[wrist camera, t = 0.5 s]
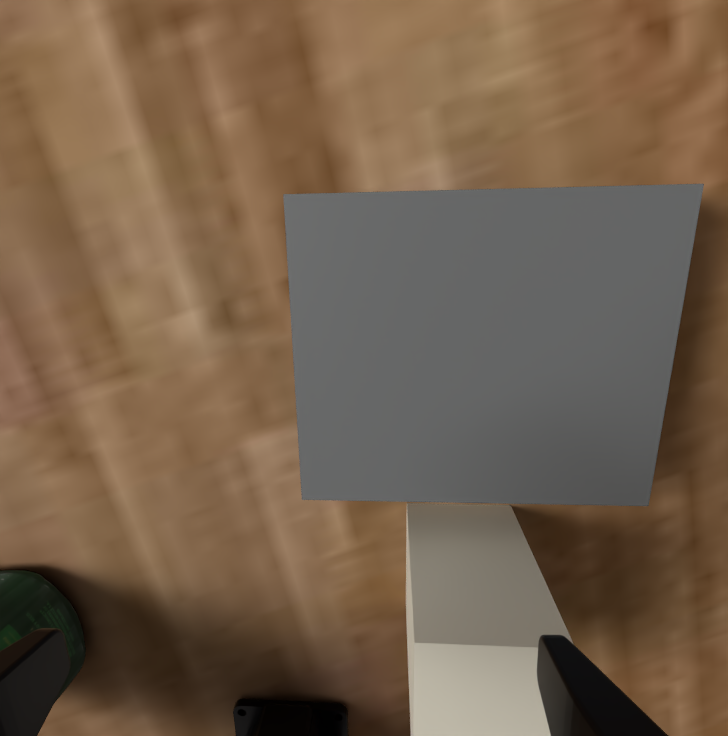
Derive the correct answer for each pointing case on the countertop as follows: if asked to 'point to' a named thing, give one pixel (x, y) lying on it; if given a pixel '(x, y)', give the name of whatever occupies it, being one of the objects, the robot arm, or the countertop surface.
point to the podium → (486, 341)
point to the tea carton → (474, 622)
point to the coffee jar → (38, 614)
